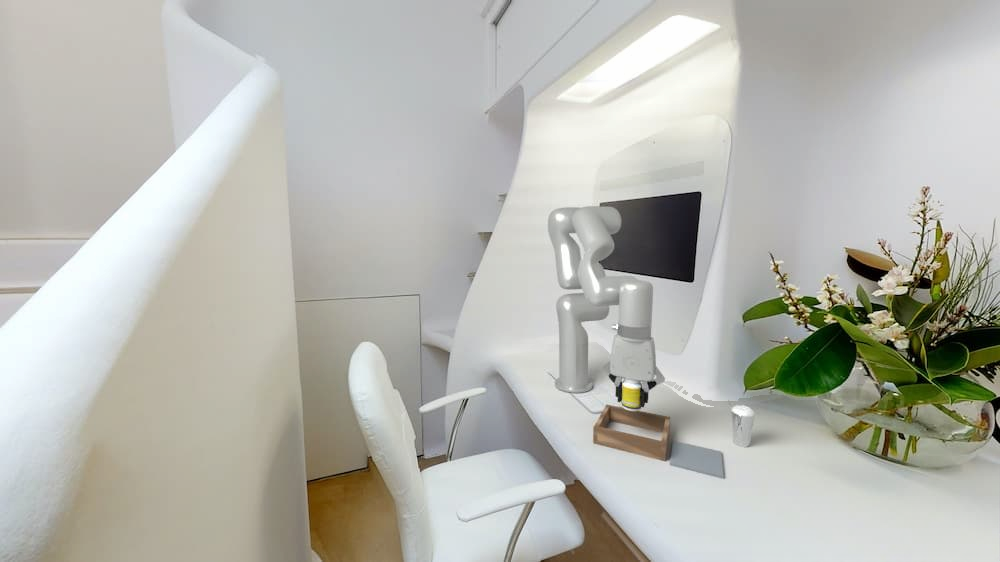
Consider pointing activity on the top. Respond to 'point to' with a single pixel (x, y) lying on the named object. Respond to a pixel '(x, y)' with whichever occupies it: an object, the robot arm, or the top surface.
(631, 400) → the supplement bottle
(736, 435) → the milkshake
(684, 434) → the top surface
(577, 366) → the robot arm
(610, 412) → the walnut box
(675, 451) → the slate mat
